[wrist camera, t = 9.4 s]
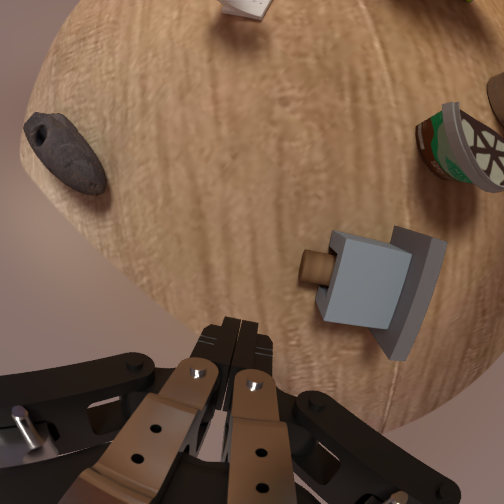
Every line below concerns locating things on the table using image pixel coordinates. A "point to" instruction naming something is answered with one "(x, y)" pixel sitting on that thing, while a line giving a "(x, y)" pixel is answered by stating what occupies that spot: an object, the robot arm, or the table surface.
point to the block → (363, 281)
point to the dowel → (316, 267)
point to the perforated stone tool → (65, 152)
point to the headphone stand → (246, 8)
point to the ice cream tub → (462, 149)
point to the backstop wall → (411, 292)
